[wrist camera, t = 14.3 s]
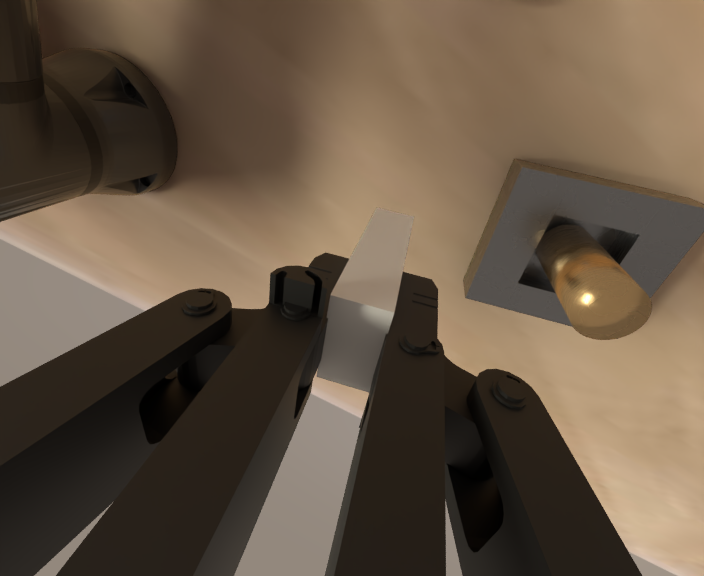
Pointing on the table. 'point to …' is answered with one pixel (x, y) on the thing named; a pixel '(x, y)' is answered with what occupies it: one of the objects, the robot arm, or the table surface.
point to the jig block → (581, 210)
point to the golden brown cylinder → (592, 284)
